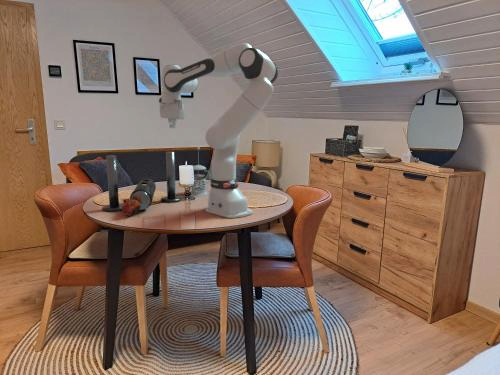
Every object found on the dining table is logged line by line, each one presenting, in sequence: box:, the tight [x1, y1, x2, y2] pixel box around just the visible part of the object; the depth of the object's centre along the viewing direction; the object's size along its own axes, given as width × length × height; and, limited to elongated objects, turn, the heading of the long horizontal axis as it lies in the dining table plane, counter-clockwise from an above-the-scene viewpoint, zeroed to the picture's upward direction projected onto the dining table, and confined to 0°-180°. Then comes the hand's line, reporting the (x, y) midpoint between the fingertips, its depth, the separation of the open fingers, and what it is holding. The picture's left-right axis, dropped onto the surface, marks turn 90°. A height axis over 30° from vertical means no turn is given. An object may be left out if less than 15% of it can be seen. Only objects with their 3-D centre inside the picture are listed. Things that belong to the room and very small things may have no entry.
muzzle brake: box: [129, 177, 157, 211], centre depth 169 cm, size 10×28×10 cm, turn 10°
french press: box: [190, 146, 212, 196], centre depth 193 cm, size 10×12×25 cm
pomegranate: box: [122, 198, 141, 217], centre depth 152 cm, size 7×7×10 cm
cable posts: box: [102, 151, 183, 213], centre depth 167 cm, size 10×38×24 cm, turn 128°
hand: (172, 128), depth 179 cm, fingers closed
